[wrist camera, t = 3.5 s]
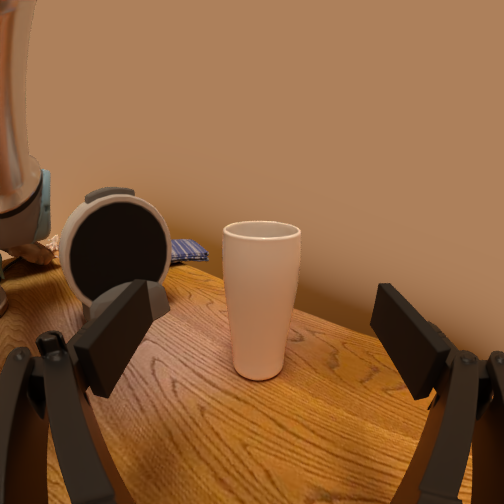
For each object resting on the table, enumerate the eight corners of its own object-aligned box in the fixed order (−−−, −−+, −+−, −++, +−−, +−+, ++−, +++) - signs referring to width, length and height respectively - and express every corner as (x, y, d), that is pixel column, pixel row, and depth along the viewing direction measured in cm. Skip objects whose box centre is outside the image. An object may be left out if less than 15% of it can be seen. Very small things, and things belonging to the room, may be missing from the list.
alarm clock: (85, 345, 28) (54, 198, 23) (71, 312, 35) (49, 195, 30) (187, 309, 39) (179, 182, 34) (155, 286, 46) (147, 181, 41)
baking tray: (-25, 234, 45) (-20, 215, 46) (28, 253, 65) (33, 237, 66) (-12, 251, 34) (-5, 225, 35) (65, 275, 53) (71, 253, 54)
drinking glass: (243, 396, 24) (242, 242, 19) (217, 356, 29) (210, 224, 25) (301, 374, 26) (318, 233, 22) (269, 342, 32) (275, 218, 28)
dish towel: (99, 261, 48) (100, 275, 49) (211, 252, 58) (211, 265, 59) (104, 242, 63) (105, 253, 64) (191, 236, 73) (191, 247, 74)
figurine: (33, 267, 62) (42, 253, 68) (57, 254, 62) (66, 240, 68) (25, 255, 60) (35, 242, 66) (48, 241, 60) (58, 228, 66)
